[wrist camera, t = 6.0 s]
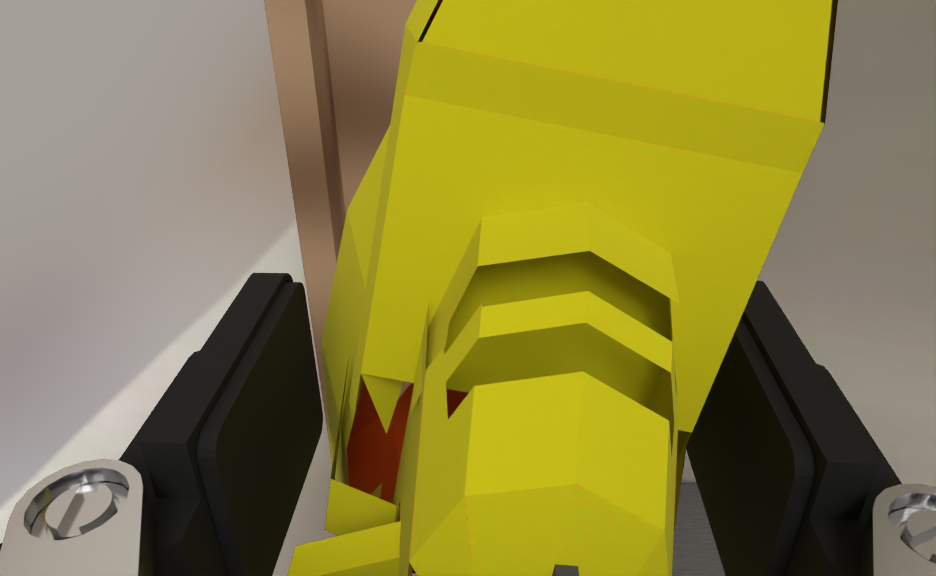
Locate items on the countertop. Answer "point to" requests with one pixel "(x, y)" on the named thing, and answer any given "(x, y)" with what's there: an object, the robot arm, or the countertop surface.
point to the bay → (332, 118)
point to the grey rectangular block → (694, 538)
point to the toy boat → (554, 276)
